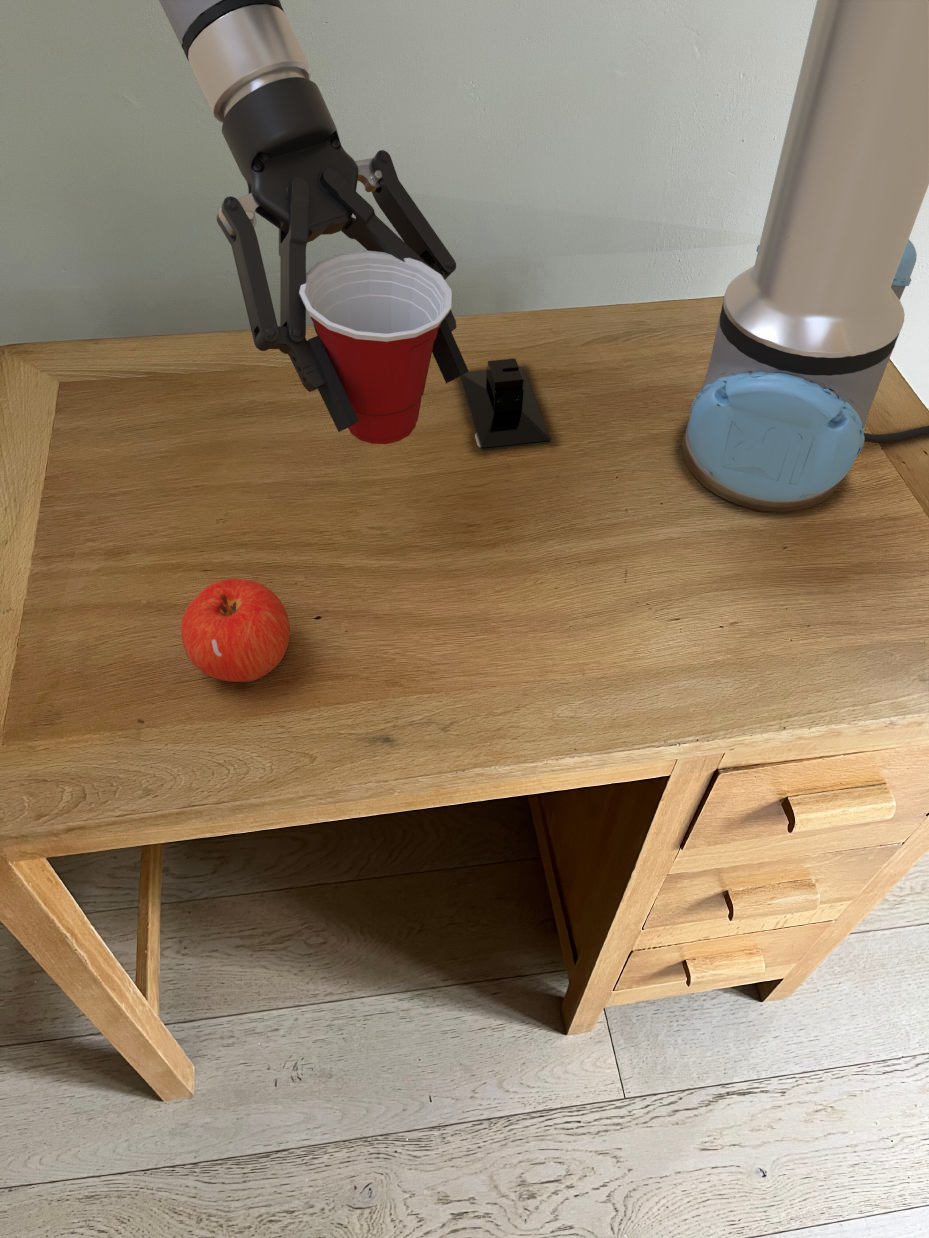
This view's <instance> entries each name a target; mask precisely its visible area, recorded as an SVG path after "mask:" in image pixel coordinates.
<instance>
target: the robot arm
mask: <svg viewBox="0 0 929 1238" xmlns="http://www.w3.org/2000/svg"><path fill="white" fill-rule="evenodd" d="M158 2H159V3H160V5H161V8H162V10H163V12H164V14H165V16H166V18H167V20H168V21H169V22H168V23H169V24H170V26H171V28H172V30H173V32H174V34H175V36H176V38H177V41H178V42H179V45H180V47H181V49H182V50H183V53H184V55H185V58H186V59H187V61H188V65H189V66H190V69H191V70H192V72H193V75H194V77H195V79H196V80H197V83H198V86H199V87H200V89H201V91H202V94H203V95H204V98H205V100H206V102H207V104H208V106H209V109H210V111H211V112H212V114H213V117H214V118H215V119H216V120H217V121H218V122H219V123H222V125H221V134H222V136H223V138H224V140H225V142H226V144H227V146H228V149H229V151H230V153H231V155H232V157H233V159H234V161H235V164H236V165H237V168H238V169H239V172H240V174H241V175H242V177H243V178H244V180H245V182H246V183H247V191H248V192H247V194H245V195H243V196H240V197H238V198H236V197H235V196H226V197H225V198H224V200H223V201H222V204H221V206H220V208H219V210H218V213H217V215H216V222H217V224H218V227H219V228H220V229H221V231H222V233H223V234H224V236H225V238H226V239H227V241H228V243H229V245H230V246H231V251H232V254H233V255H232V256H233V259H234V263H235V267H236V272H237V275H238V281H239V285H240V288H241V292H242V297H243V301H244V305H245V309H246V314H247V318H248V319H247V320H248V323H249V327H250V330H251V336H252V340H253V344H254V346H255V348H256V349H257V350H259V351H261V352H266V351H269V350H279V351H280V353H282V354H284V355H288V357H289V359H290V362H291V363H292V365H293V367H294V369H295V371H296V374H297V375H298V378H299V380H300V382H301V385H302V386H303V387H304V389H306V391H308V392H309V393H311V392H315V391H316V390H317V391H318V392H319V395H320V397H321V399H322V401H323V403H324V405H325V407H326V409H327V412H328V413H329V415H330V418H331V419H332V422H333V424H334V426H335V428H336V430H337V432H338V433H340V432H342V431H344V430H346V429H348V427H350V426H352V425H353V424H355V423H357V422H358V421H359V420H358V417H357V415H356V413H355V411H354V409H353V407H352V405H351V403H350V401H349V399H348V397H347V394H346V392H345V390H344V388H343V386H342V384H341V382H340V380H339V378H338V376H337V373H336V371H335V369H334V367H333V365H332V363H331V361H330V359H329V357H328V355H327V352H326V350H325V348H324V346H323V344H322V342H321V340H320V338H319V336H318V335H316V336H312V337H311V338H309V339H307V337H306V336H307V309H306V307H305V305H304V303H303V301H302V299H301V296H300V294H299V291H300V287H301V285H303V284H306V273H307V245H308V243H311V242H314V241H315V240H316V239H317V238H318V237H320V236H322V235H323V236H324V235H334V234H337V233H340V232H342V234H344V235H345V237H347V238H349V239H351V240H355V241H356V242H357V243H359V245H361V246H362V247H363V248H364V249H365V250H366V251H376V252H385V253H388V254H390V255H393V256H394V257H396V258H397V259H399V260H401V261H403V262H405V260H404V258H411V259H414V260H417V261H420V262H422V263H424V264H425V265H427V266H428V267H430V268H431V269H433V270H434V271H436V272H438V273H439V274H441V275H442V277H443V278H444V280H445V281H446V280H447V279H448V278H449V277H450V276H451V275H452V274H453V273H454V272H455V271H456V269H457V262H456V260H455V259H454V258H453V256H452V254H451V253H450V252H449V250H448V249H447V247H446V246H445V244H444V243H443V242H442V241H443V240H441V238H440V237H439V236H438V234H437V233H436V232H435V230H434V228H433V227H432V226H431V224H430V223H429V221H428V220H427V218H426V217H425V216H424V214H423V213H422V211H421V210H420V209H419V207H418V206H417V204H416V203H415V200H413V198H412V197H411V196H410V194H409V192H408V191H407V189H406V188H405V187H404V185H403V184H402V183H401V181H400V178H399V177H398V174H397V171H396V168H395V165H394V161H393V160H392V159H393V158H392V156H391V155H390V153H389V152H388V151H386V150H384V149H381V150H378V151H377V152H376V153H375V155H374V156H373V157H371V158H366V159H360V160H355V159H354V158H353V157H352V156H351V155H350V154H349V153H348V152H347V151H346V150H345V149H344V147H343V146H342V143H341V139H340V136H339V132H338V129H337V126H336V124H335V121H334V119H333V117H332V115H331V113H330V110H329V108H328V106H327V103H326V101H325V99H324V97H323V95H322V93H321V90H320V87H319V86H318V84H317V83H316V82H314V81H312V80H311V77H312V69H311V67H310V64H309V63H308V61H307V58H306V56H305V53H304V51H303V49H302V47H301V45H300V43H299V41H298V39H297V37H296V34H295V33H294V29H293V28H292V26H291V24H290V22H289V20H288V18H287V15H286V13H285V10H284V8H283V6H282V3H281V1H280V0H158ZM804 49H805V50H804V53H803V57H802V62H801V67H800V71H799V75H798V79H797V83H796V88H795V92H794V95H793V101H792V103H791V108H790V113H789V117H788V122H787V126H786V130H785V134H784V138H783V143H782V146H781V151H780V155H779V159H778V164H777V168H776V172H775V177H774V180H773V185H772V189H771V193H770V198H769V202H768V206H767V211H766V215H765V220H764V224H763V228H762V231H761V236H760V241H759V244H757V246H756V252H757V254H756V257H755V262H754V265H752V266H751V267H749V268H748V269H746V270H744V271H743V272H742V273H740V274H738V275H737V276H736V277H734V279H732V280H731V281H730V282H729V284H728V285H727V287H726V290H725V292H724V295H723V299H722V304H721V310H720V313H719V318H718V322H717V327H716V331H715V335H714V341H713V345H712V350H711V353H710V354H711V355H710V359H709V363H708V366H707V367H708V368H707V372H706V374H705V378H704V381H703V384H702V387H701V389H700V390H699V391H698V393H697V394H696V396H695V398H694V399H693V400H692V403H691V406H690V410H689V420H688V422H687V425H686V427H685V428H686V429H685V432H684V435H683V439H682V445H681V451H682V457H683V461H684V462H685V465H686V467H687V468H688V470H689V472H690V473H691V474H692V476H693V477H694V478H695V479H696V480H697V482H699V483H700V484H701V485H702V486H703V487H705V488H706V489H707V490H708V491H710V492H711V493H713V494H715V496H718V497H720V498H722V499H724V500H726V501H729V502H730V503H732V504H735V505H739V506H742V507H744V508H748V509H753V510H757V511H763V512H775V513H785V512H786V513H787V512H795V511H796V512H797V511H801V510H807V509H809V508H812V507H815V506H817V505H819V504H821V503H823V502H824V501H826V500H827V499H829V498H830V497H831V496H832V495H833V494H834V493H835V491H836V490H837V488H838V487H839V484H840V482H841V481H842V480H843V479H844V478H845V477H846V476H847V475H848V473H849V472H850V470H851V469H852V468H853V466H854V464H855V462H856V459H857V458H858V456H859V455H860V454H861V451H862V450H863V448H864V444H865V442H866V443H872V444H873V443H874V444H882V443H883V444H885V443H893V442H900V441H906V440H909V439H910V440H911V439H913V438H918V437H922V436H925V435H926V436H927V435H929V425H925V426H924V425H923V426H920V427H916V428H912V429H908V430H904V431H898V432H891V433H882V434H881V433H880V434H879V433H877V434H876V433H868V432H865V427H866V424H867V420H868V417H869V414H870V411H871V409H872V405H873V402H874V400H875V398H876V395H877V392H878V389H879V387H880V385H881V382H882V379H883V377H884V374H885V371H886V368H887V366H888V363H889V361H890V358H891V356H892V353H893V352H894V349H895V347H896V343H897V341H898V339H899V336H900V333H901V331H902V328H903V326H904V323H905V310H904V307H903V304H902V302H901V298H902V295H903V294H904V292H905V289H906V287H909V286H910V284H911V282H912V278H911V277H912V274H913V271H914V268H915V265H916V263H917V256H918V255H917V254H918V253H917V250H916V247H915V245H914V243H913V242H912V241H911V240H910V237H911V234H912V231H913V228H914V226H915V223H916V220H917V219H918V216H919V212H920V210H921V208H922V205H923V201H924V199H925V196H926V193H927V190H928V188H929V0H816V3H815V7H814V11H813V16H812V20H811V24H810V28H809V33H808V37H807V41H806V45H805V48H804ZM358 182H360V183H361V184H362V185H363V187H364V188H363V189H364V191H365V192H366V193H371V194H372V196H373V199H374V201H375V202H376V204H377V205H378V208H379V209H380V210H381V211H382V213H383V215H384V216H385V217H386V219H387V220H388V221H389V223H390V224H391V226H392V227H393V228H394V230H395V231H396V233H397V234H396V233H395V232H394V231H393V230H392V229H391V228H390V227H389V226H388V225H387V224H386V223H385V222H384V221H383V220H381V219H380V218H379V216H378V215H377V214H376V212H375V208H374V207H373V206H372V205H371V203H369V202H368V201H367V200H366V199H365V198H363V196H362V195H360V193H359V192H358V191H357V187H358ZM256 214H258V215H259V216H260V217H261V218H263V219H264V220H265V221H267V222H269V223H270V224H272V225H273V226H275V227H276V228H278V256H279V258H280V259H279V260H280V261H279V263H280V266H279V267H280V271H279V272H280V283H279V285H280V288H279V291H280V293H279V295H280V297H279V298H280V299H279V305H280V306H279V311H280V312H279V313H280V316H279V322H280V323H279V325H280V326H279V325H278V322H277V317H276V312H275V308H274V304H273V300H272V295H271V290H270V287H269V283H268V279H267V274H266V270H265V264H264V261H263V256H262V252H261V248H260V244H259V240H258V235H257V232H256V230H255V228H256V225H257V217H256ZM353 215H354V217H353ZM398 235H399V236H398ZM456 329H457V321H456V318H455V316H454V314H453V311H452V308H451V309H450V311H449V313H448V314H447V315H446V317H445V318H444V319H443V320H442V322H441V325H440V328H439V329H438V332H437V336H436V339H435V340H434V344H433V349H432V355H433V357H434V360H435V362H436V364H437V366H438V368H439V369H438V370H439V371H440V373H441V376H442V378H443V380H444V382H445V384H449V383H451V382H453V381H454V380H456V379H458V378H460V376H462V375H464V374H465V373H467V372H470V370H469V369H468V366H467V364H466V362H465V359H464V357H463V355H462V353H461V350H460V348H459V346H458V343H457V341H456V339H455V336H454V335H453V331H454V330H456Z"/></svg>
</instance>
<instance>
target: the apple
mask: <svg viewBox="0 0 929 1238" xmlns="http://www.w3.org/2000/svg"><path fill="white" fill-rule="evenodd" d="M290 624H291V623H290V619H289V615H288V613H287V610H286V608H285V606H284V604H283V602H282V600H281V599H280V598H279V596H277V595H276V594H275V592H273V591H272V590H271V589H269V587H268V586H266V585H263V584H262V583H260V582H258V581H254V580H248V579H243V578H241V579H240V578H226V579H221V580H218V581H215V582H213V583H211V584H210V585H207V586H206V587H205V588H203V590H202V591H200V592H199V594H197V595H196V596H195V597H194V598H193V600H192V601H191V602H190V603H189V604H188V606H187V607H186V609H185V611H184V613H183V615H182V618H181V623H180V633H181V641H182V644H183V649H184V652H185V653H186V656H187V658H188V659H189V661H190V662H191V663H192V664H193V665H194V666H195V667H196V668H197V669H198V670H199V671H200V672H202V673H203V674H204V675H206V676H208V677H210V678H213V679H216V680H220V681H224V682H231V683H232V682H233V683H241V682H242V683H246V682H254V681H257V680H259V679H261V678H263V677H264V676H266V675H268V674H269V673H270V672H272V671H273V670H274V669H275V668H276V667H277V666H278V665H279V664H280V663H281V661H282V659H283V658H284V657H285V654H286V652H287V649H288V646H289V642H290V634H291V633H290V632H291V625H290Z"/></svg>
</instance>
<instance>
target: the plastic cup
mask: <svg viewBox="0 0 929 1238" xmlns="http://www.w3.org/2000/svg"><path fill="white" fill-rule="evenodd" d="M404 260H405V262H403V261H401V260H399V259H397V258H396V257H394V256H393V255H390V254H388V253H385V252H376V251H368V250H361V251H359V250H358V251H353V252H343V253H338V254H336V255H333V256H330V257H328V258H325V259H323V260H320V261H318V262H316V263H315V264H314V265H313V266H312V267H311V268H309V270H307V271H306V284H303V285H301V287H300V291H299V294H300V296H301V299H302V301H303V303H304V305H305V307H306V312H307V314H308V315H309V316H310V317H309V318H310V320H311V321H312V323H313V328H314V332H315V334H316V336H319V338H320V340H321V342H322V344H323V346H324V348H325V350H326V352H327V355H328V357H329V359H330V361H331V363H332V365H333V367H334V369H335V371H336V373H337V376H338V378H339V380H340V382H341V384H342V386H343V388H344V390H345V392H346V394H347V397H348V399H349V401H350V403H351V405H352V407H353V409H354V411H355V413H356V415H357V417H358V420H359V421H358V422H357V423H355V424H353V425H352V426H350V427H348V428H347V429H348V431H349V433H350V434H351V435H352V436H353V437H355V438H356V439H357V440H359V441H361V442H364V443H368V444H371V445H389V444H393V443H398V442H400V441H402V440H404V439H405V438H408V437H409V436H410V435H411V434H412V433H413V432H414V430H415V429H416V427H417V426H416V425H417V422H418V421H419V415H420V411H421V410H420V409H421V403H422V398H423V396H424V394H425V389H426V385H427V384H426V383H427V378H428V373H429V369H430V363H431V360H432V359H431V358H432V355H433V353H432V349H433V344H434V340H435V339H436V336H437V332H438V329H439V328H440V325H441V322H442V320H443V319H444V318H445V317H446V315H447V314H448V313H449V311H450V309H451V310H452V303H453V302H452V301H453V300H452V296H453V291H452V289H451V287H450V286H449V284H448V283H447V281H446V279H445V280H444V278H443V277H442V275H441V274H439V273H438V272H436V271H434V270H433V269H431V268H430V267H428V266H427V265H425V264H424V263H422V262H420V261H417V260H414V259H411V258H404Z"/></svg>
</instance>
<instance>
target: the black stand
mask: <svg viewBox="0 0 929 1238" xmlns="http://www.w3.org/2000/svg"><path fill="white" fill-rule="evenodd" d="M459 380H460V383H461V386H462V390H463V394H464V397H465V400H466V403H467V406H468V410H469V413H470V416H471V420H472V423H473V426H474V429H475V434H474V439H475V442H476V445H477V447H478V448H480V449H481V450H482V451H488V450H497V449H506V448H514V447H524V446H533V445H542V444H549V443H551V436H550V433H549V430H548V428H547V425H546V422H545V420H544V417H543V415H542V412H541V410H540V407H539V405H538V402H537V399H536V397H535V394H534V392H533V388H532V386H531V383H530V380H529V379H528V375H527V373H526V371H525V368H524V366H519V363H518V360H517V359H516V358H505V359H495V360H488V361H487V366H486V369H483V370H482V369H481V370H472V371H469V372H467V373H465V374H464V375H462V376H460V377H459Z"/></svg>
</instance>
